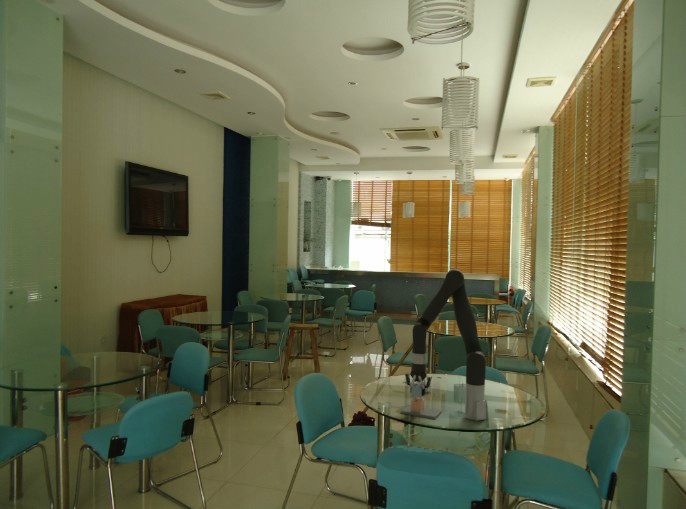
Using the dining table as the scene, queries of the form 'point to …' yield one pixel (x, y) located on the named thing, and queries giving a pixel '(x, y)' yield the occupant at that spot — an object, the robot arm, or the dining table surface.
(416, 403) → the brick terracotta
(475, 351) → the robot arm
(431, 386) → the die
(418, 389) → the brick slate
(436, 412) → the baseplate
